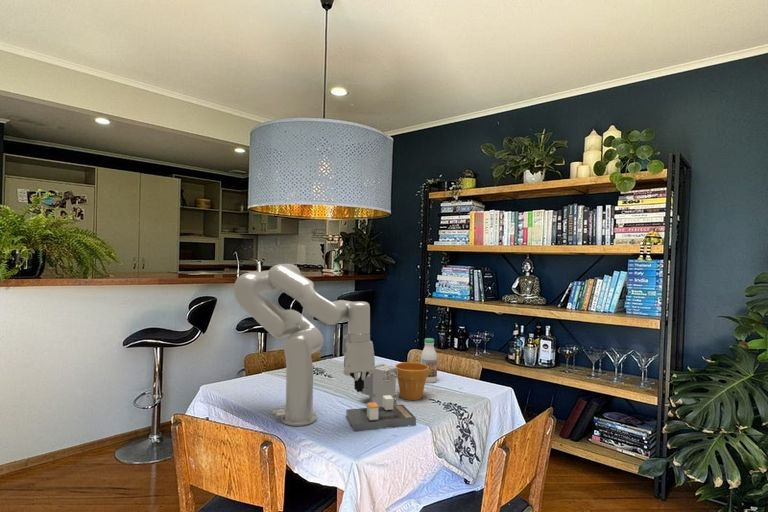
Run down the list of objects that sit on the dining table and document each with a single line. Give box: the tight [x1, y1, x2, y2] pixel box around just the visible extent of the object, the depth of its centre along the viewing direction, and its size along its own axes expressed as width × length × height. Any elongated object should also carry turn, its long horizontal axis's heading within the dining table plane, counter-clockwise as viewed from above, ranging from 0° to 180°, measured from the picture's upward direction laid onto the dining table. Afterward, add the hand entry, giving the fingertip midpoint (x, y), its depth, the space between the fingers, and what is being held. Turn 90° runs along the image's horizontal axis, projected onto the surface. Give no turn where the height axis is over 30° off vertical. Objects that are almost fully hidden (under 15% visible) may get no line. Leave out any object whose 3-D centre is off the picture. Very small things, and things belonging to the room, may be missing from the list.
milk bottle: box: [420, 337, 438, 384], centre depth 210 cm, size 8×8×20 cm
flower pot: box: [394, 361, 429, 401], centre depth 186 cm, size 14×14×13 cm
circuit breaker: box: [360, 363, 398, 407], centre depth 178 cm, size 8×14×15 cm, turn 51°
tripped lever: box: [366, 402, 379, 420], centre depth 154 cm, size 3×4×5 cm
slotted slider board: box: [345, 404, 417, 432], centre depth 159 cm, size 22×14×3 cm, turn 107°
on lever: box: [382, 395, 393, 410], centre depth 164 cm, size 3×4×4 cm
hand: (359, 390), depth 153 cm, fingers closed
